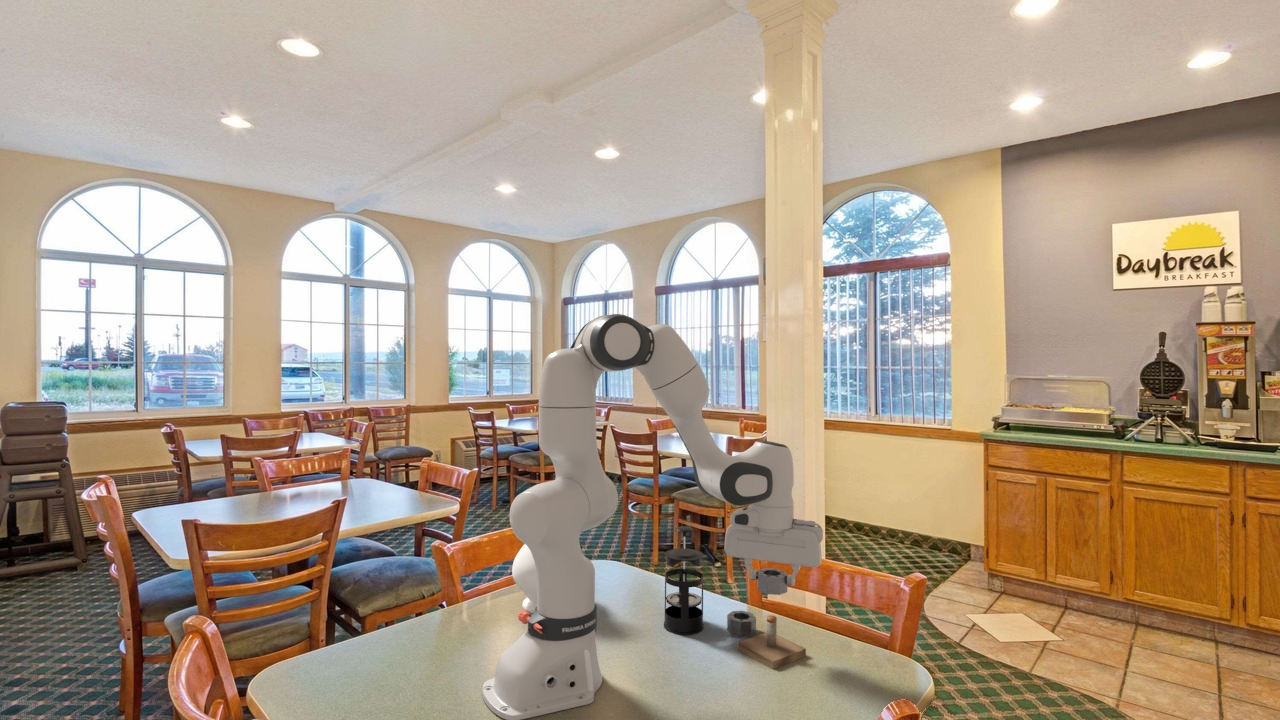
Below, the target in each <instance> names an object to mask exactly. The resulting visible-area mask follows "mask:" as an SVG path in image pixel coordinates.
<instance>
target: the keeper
mask: <svg viewBox="0 0 1280 720" xmlns="http://www.w3.org/2000/svg"><path fill="white" fill-rule="evenodd" d="M777 622H778V621H777V616H775V615H771V614H770V615H767V616H766V632H764V633H761V634H759V635H756V636H752V637H749V638H747V639H744V640H741V641H739V642H737V650H738V651H739V652H741V653H743V654H744V655H746V656H748V657H750V658H752V659H754V660H756V661H757V662H759V663H761V664H763V665H764V666H767V667H768V668H770V669H772V670H774V669H777V668H779V667H781V666H784V665H787V664H789V663H792V662H794V661H796V660H799V659H801V658H803V657H807V649H806V648H805V647H803V646H801V645H799V644H797V643H795V642H793V641H791V640H789V639H787V638H786V637H783V636H781V635H779V634H777Z"/></svg>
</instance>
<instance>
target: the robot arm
mask: <svg viewBox="0 0 1280 720" xmlns="http://www.w3.org/2000/svg"><path fill="white" fill-rule="evenodd" d="M630 369H636V370H637V371H638V372H639V373H640V374H641V375H642V376H643V378H644V380H645V382H646V383H647V385H648V386H649V389H650V390H651V393H652V394H653V395H654V397H655V399H656V400H657V402H658V404H659V405H660V406H661V408H662V409H663V411H664V412H665V413H666V414H667V416H668V417H669V419H670V421H671V422H672V423H673V425H674V428H675V430H676V432H677V434H678V435H679V438H680V440H681V441H682V443H683V445H684V447H685V449H686V451H687V453H688V455H689V457H690V460H691V463H692V469H693V476H694V481H695V484H696V486H697V487H698V489H699V490H700V491H701V492H702V493H703V494H705V495H708V496H710V497H713V498H716V499H718V500H721V501H723V502H725V503H727V504H729V505H731V506H737V507H738V506H739V507H740V508H738V509H736V510H734V511H733V512H732V513H731V514H730V515H729V523H730V525H729V526H727V528H726V531H725V536H724V537H725V538H724V553H725V554H726V555H727V557H731V558H738V559H744V560H743V561H744V565H745V567H746V569H747V571H748V573H749V580H751V581H757V570H758V569H754V566H753V564H752V562H753V561H761V562H768V563H769V562H770V563H776V564H777V563H778V564H784V565H791V569H792V570H793V572H792V574H789V573H788V574H787V586H792V587H795V585H796V576H797V575H798V573H799V572H800V571H801V570H800V569H801V567H806V568H812V569H813V568H815V569H816V568H818V567H819V566H820V565H821V563H822V546H821V545H822V544H821V542H822V541H823V538H824V536H823V535H824V531H823V528H822V526H821V525H820V524H819V523H816V521H814V520H803V519H799V518H798V519H797V518H794V499H793V496H792V495H793V492H792V491H793V487H794V484H795V483H794V482H795V481H794V477H795V476H794V462H793V461H794V460H793V456H792V455H793V454H792V452H791V449H790V448H789V447H788V446H787V445H786V444H783V443H779V442H775V441H774V442H773V441H768V440H765V439H763V440H762V439H759V440H756V441H754V443H753V445H752V446H750V447H749V448H748V449H746V450H744V451H743V452H741V453H739V454H737V455H736V454H735V455H734V456H733V455H730V454H728V453H727V452H725V451H723V450H722V449H721V448H720V447H719V446H718V445H717V443H716V442H715V440H714V437H713V436H712V433H711V432H710V430H709V428H708V426H707V423H706V422H705V420H704V417H703V414H702V411H703V408H704V407H705V405H706V403H707V402H708V399H709V396H710V386H709V384H708V383H709V382H708V380H707V378H706V376H705V373H704V371H703V369H702V368H701V366H700V364H699V362H698V361H697V358H696V357H695V355H694V354H693V352H692V351H691V350H690V348H689V346H688V345H687V344H686V342H685V341H684V340H683V339H682V337H681V336H680V335H679V334H678V333H677V332H676V330H675V329H674V328H673V327H671V326H670V325H668V324H664V323H658V324H653V325H649V326H648V327H647V326H646V325H644V324H642V323H641V322H640V321H637V320H636V319H634V318H633V317H630V316H628V315H625V314H621V313H620V314H619V313H614V314H613V313H612V314H605V315H601V316H600V315H599V316H597V317H596V318H594V319H592V320H590V321H588V322H587V323H585V325H584V326H582V328H581V329H580V330H579V331H578V333H577V336H576V337H575V338H574V341H573V342H572V344H571V345H570V347H569V348H560V349H557V350H555V351H553V352H551V353H550V354H548V356H546V358H545V360H544V362H543V366H542V371H541V376H540V382H539V383H540V384H539V395H538V446H539V448H540V450H541V451H542V453H544V454H545V455H547V456H548V457H549V458H550V460H551V462H552V465H553V467H554V473H555V479H553V480H549V481H545V482H541V483H538V484H534V485H533V486H530V487H529V488H527V489H526V490H524V491H523V492H521V493H519V494H518V495H516V496H515V498H514V499H513V501H512V503H511V505H510V508H509V516H508V517H509V524H510V528H511V531H512V532H513V534H514V536H516V538H517V539H518V540H519V541H520V542H522V543H523V544H526V545H527V546H528V548H529V549H530V551H531V553H532V556H533V559H534V562H535V566H536V574H537V606H536V608H535V610H534V612H533V613H531V614H530V612H528V611H526V610H525V609H522V610H521V611H519V613H518V615H517V619H518V620H519V621H520V623H522V624H523V625H527V629H526V631H524V632H523V634H521V635H520V636H519V637H518V638H517V639H516V640H515V641H514V642H513V643H512V644H511V645H510V646H509V647H508V648H506V650H505V651H504V652H503V653H502V654H501V655H500V656H499V657H498V661H497V663H496V668H495V673H494V677H492V678H491V679H488V680H485V681H484V683H483V686H482V690H481V696H482V699H483V701H484V703H485V704H486V706H487V707H488V709H490V711H492V713H494V714H495V715H496V716H498V717H500V718H501V719H504V720H526V719H529V718H534V717H538V716H543V715H547V714H551V713H556V712H561V711H565V710H568V709H572V708H577V707H582V706H586V705H589V704H592V703H593V702H594V700H595V694H596V692H597V691H598V690H599V689H600V688H601V686H602V683H603V676H602V673H601V669H600V664H599V657H598V653H597V652H598V651H597V643H596V631H597V625H598V624H597V623H598V614H597V613H598V612H597V610H598V609H597V605H596V603H595V601H596V600H595V599H596V598H595V597H596V596H595V594H596V593H595V592H596V591H595V589H596V587H595V586H596V581H595V580H596V569H595V566H594V563H593V562H592V561H591V560H590V559H589V558H588V557H586V556H585V555H583V551H582V549H581V544H580V535H581V533H583V532H585V531H589V530H592V529H594V528H596V527H599V526H600V525H601V524H603V523H605V521H607V520H608V519H609V518H610V517H612V515H614V514H615V512H616V510H617V507H618V505H619V494H618V489H617V487H616V485H615V482H613V481H612V480H611V479H610V478H609V476H608V475H607V474H606V472H605V470H604V468H603V465H602V462H601V459H600V455H599V450H598V442H597V393H596V390H597V387H598V382H599V380H600V377H601V375H602V374H603V373H604V372H610V373H611V372H617V371H626V370H630ZM748 505H749V506H748ZM741 506H743V507H741ZM744 506H745V507H744Z"/></svg>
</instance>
